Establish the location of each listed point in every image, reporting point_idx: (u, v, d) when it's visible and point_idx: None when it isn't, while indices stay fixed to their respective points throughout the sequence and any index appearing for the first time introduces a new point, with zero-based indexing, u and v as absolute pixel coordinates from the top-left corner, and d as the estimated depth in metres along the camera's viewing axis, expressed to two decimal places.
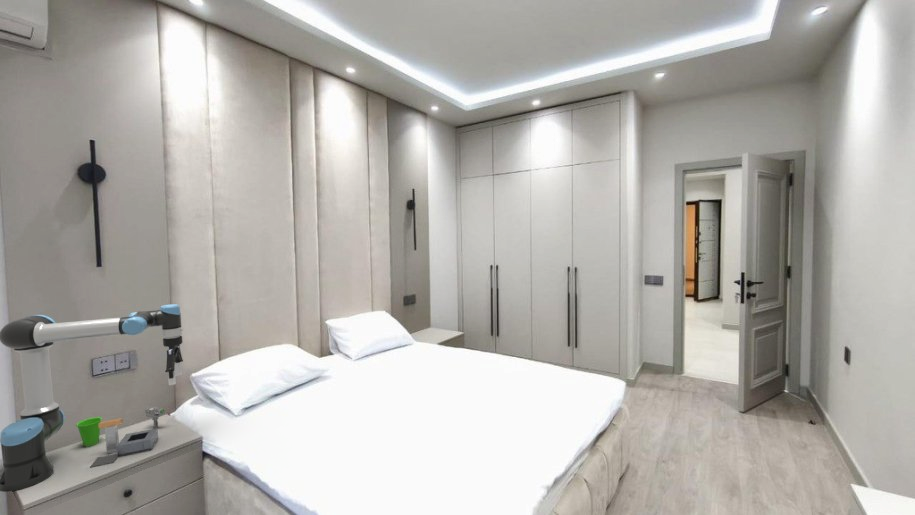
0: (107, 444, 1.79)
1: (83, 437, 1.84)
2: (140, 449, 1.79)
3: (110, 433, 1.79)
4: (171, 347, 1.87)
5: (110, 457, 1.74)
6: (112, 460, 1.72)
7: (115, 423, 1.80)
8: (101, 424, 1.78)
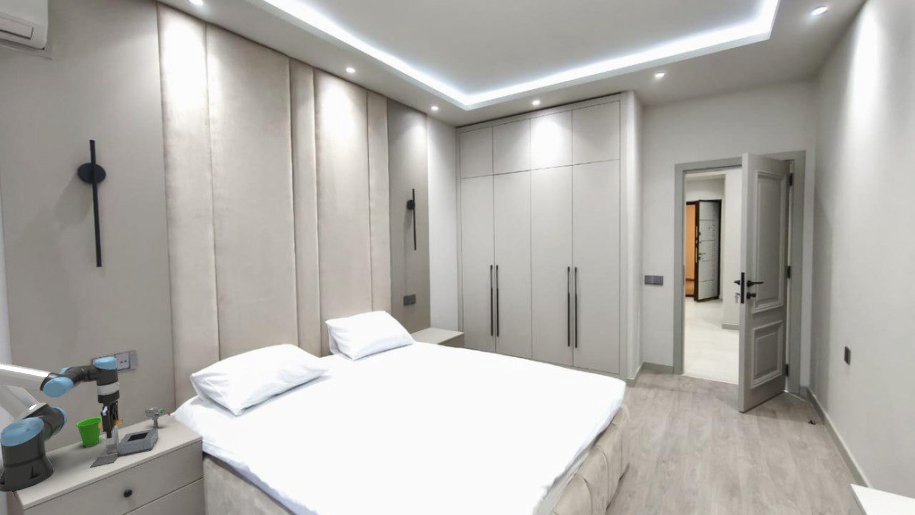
0: None
1: (83, 437, 1.84)
2: (140, 449, 1.79)
3: None
4: (106, 404, 1.76)
5: (110, 457, 1.74)
6: (112, 460, 1.72)
7: (115, 423, 1.80)
8: (101, 424, 1.78)
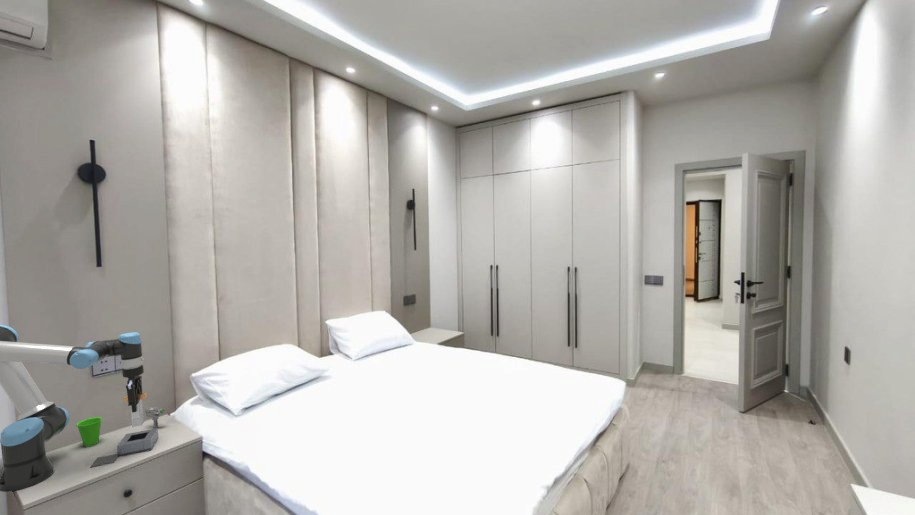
0: None
1: (83, 437, 1.84)
2: (140, 449, 1.79)
3: None
4: (131, 378, 1.78)
5: (110, 457, 1.74)
6: (112, 460, 1.72)
7: (140, 397, 1.82)
8: (126, 398, 1.80)
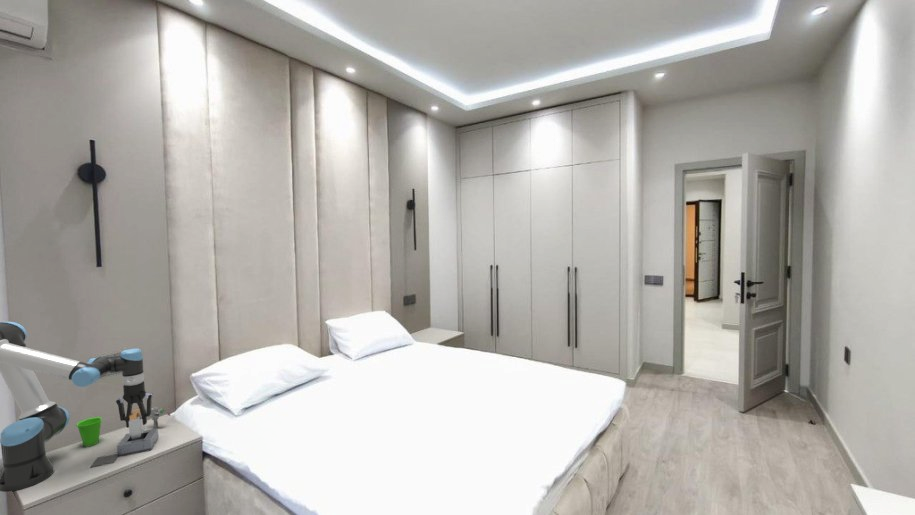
0: None
1: (83, 437, 1.84)
2: (140, 449, 1.79)
3: None
4: None
5: (110, 457, 1.74)
6: (112, 460, 1.72)
7: None
8: None
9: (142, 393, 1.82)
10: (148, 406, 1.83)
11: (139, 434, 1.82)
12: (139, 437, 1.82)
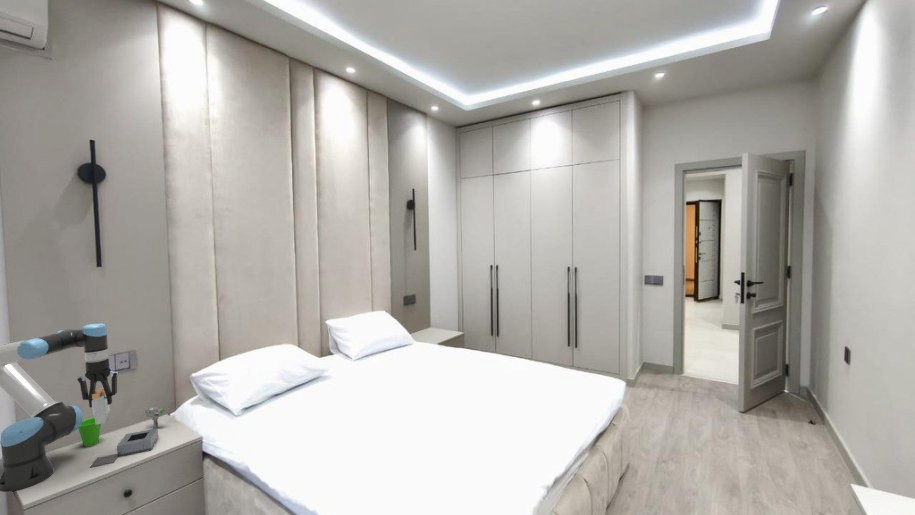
0: None
1: (83, 437, 1.84)
2: (140, 449, 1.79)
3: None
4: None
5: (110, 457, 1.74)
6: (112, 460, 1.72)
7: None
8: None
9: (106, 371, 1.71)
10: (113, 385, 1.72)
11: (103, 414, 1.70)
12: (103, 417, 1.71)
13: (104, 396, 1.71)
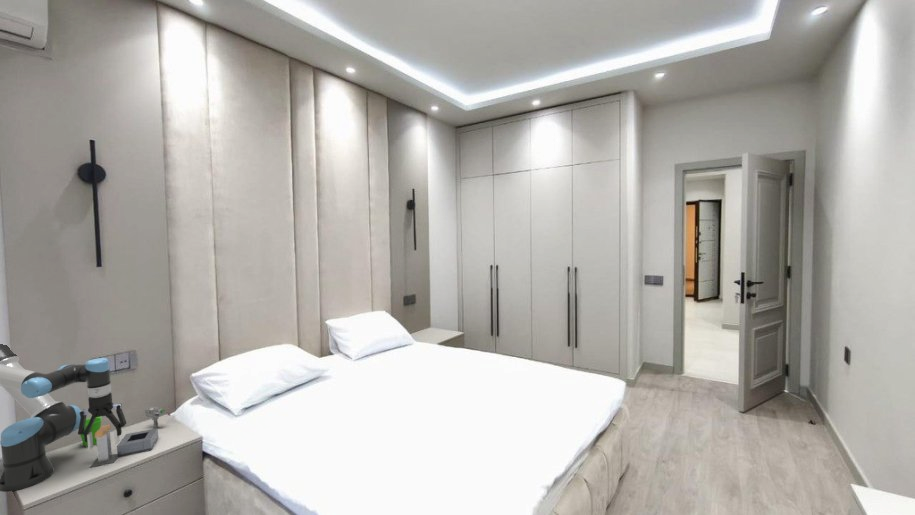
0: None
1: (83, 437, 1.84)
2: (140, 449, 1.79)
3: None
4: None
5: None
6: (112, 460, 1.72)
7: None
8: None
9: (108, 405, 1.72)
10: (120, 417, 1.73)
11: (106, 452, 1.71)
12: (106, 456, 1.71)
13: (107, 434, 1.72)
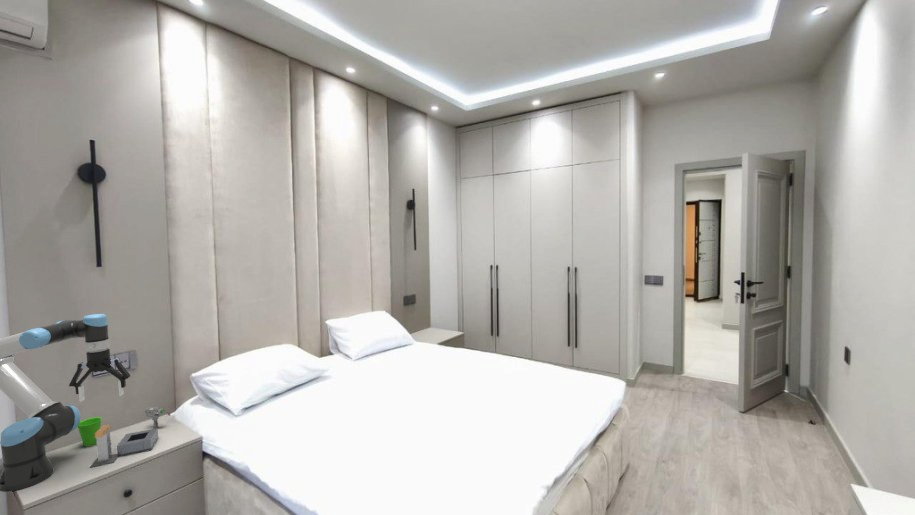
0: None
1: (83, 437, 1.84)
2: (140, 449, 1.79)
3: None
4: None
5: None
6: (112, 460, 1.72)
7: None
8: None
9: (106, 361, 1.72)
10: (121, 370, 1.74)
11: (106, 453, 1.71)
12: (106, 456, 1.71)
13: (107, 434, 1.72)
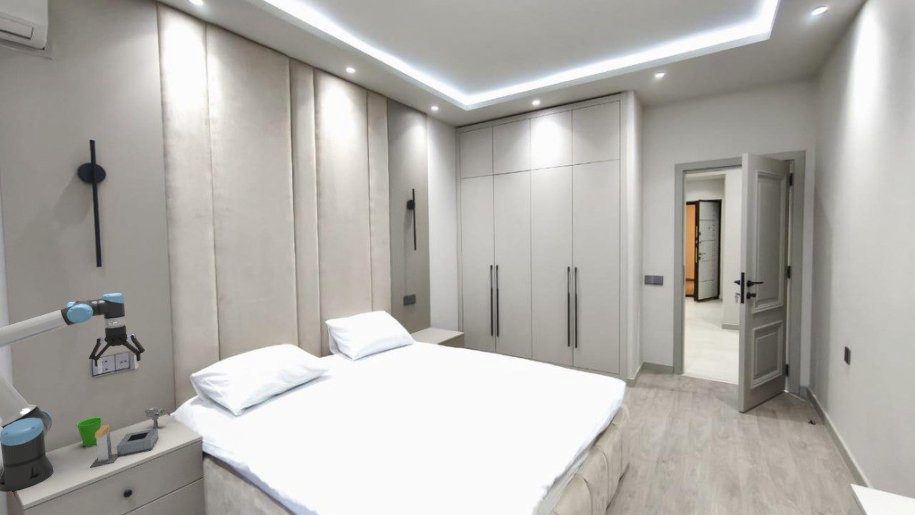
0: None
1: (83, 437, 1.84)
2: (140, 449, 1.79)
3: None
4: None
5: None
6: (112, 460, 1.72)
7: None
8: None
9: (123, 336, 1.86)
10: (136, 344, 1.89)
11: (106, 453, 1.71)
12: (106, 456, 1.71)
13: (107, 434, 1.72)
